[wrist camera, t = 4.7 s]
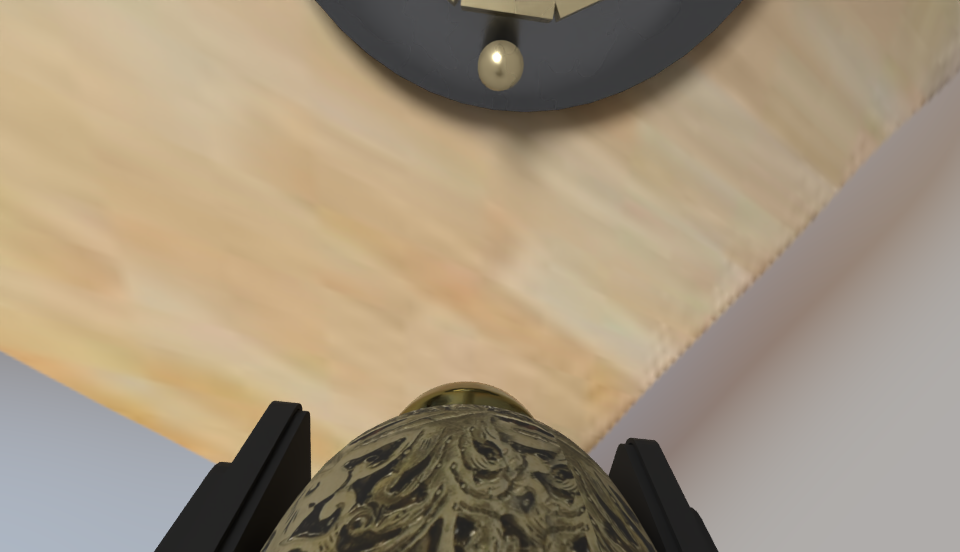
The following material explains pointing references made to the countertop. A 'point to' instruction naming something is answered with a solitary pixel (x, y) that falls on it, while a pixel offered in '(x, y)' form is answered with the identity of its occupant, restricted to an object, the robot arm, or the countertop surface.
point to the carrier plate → (527, 45)
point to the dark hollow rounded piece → (460, 486)
